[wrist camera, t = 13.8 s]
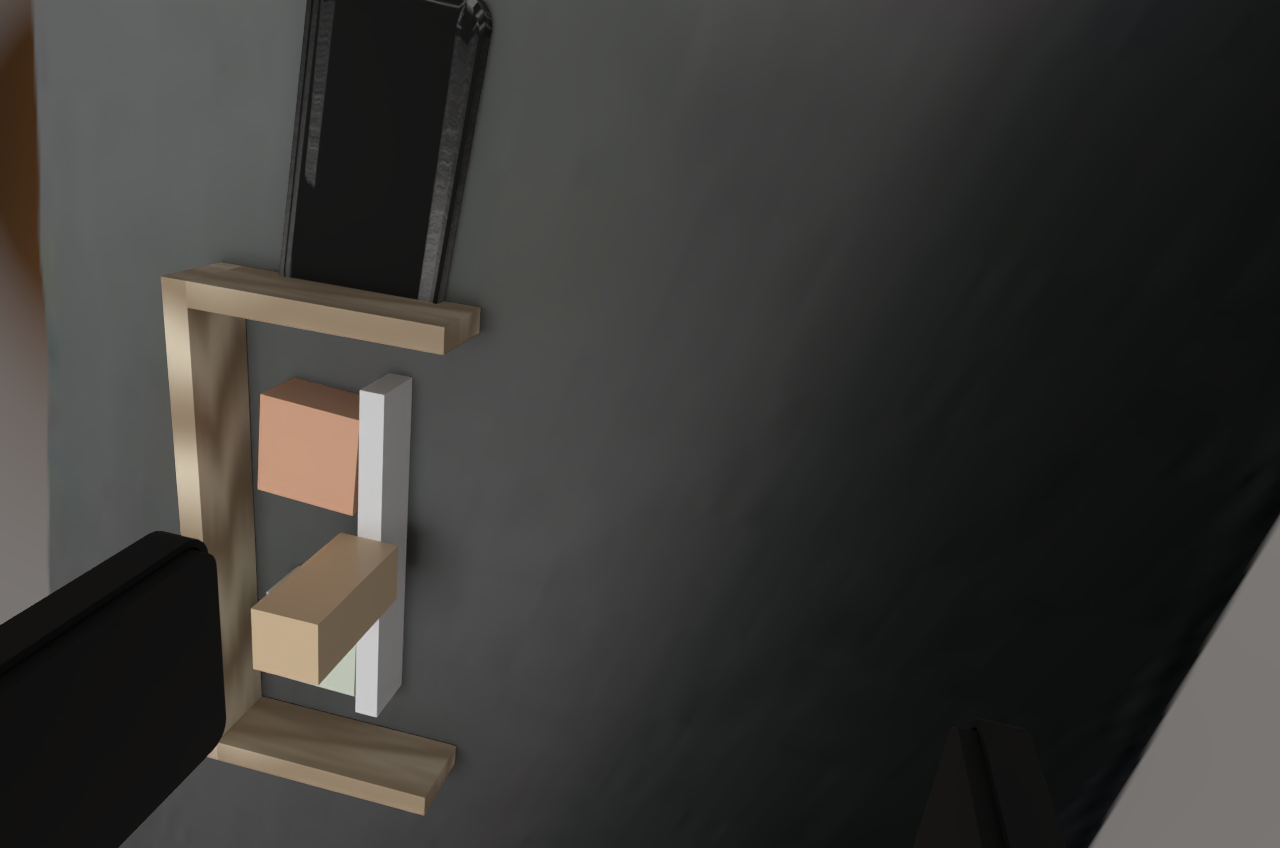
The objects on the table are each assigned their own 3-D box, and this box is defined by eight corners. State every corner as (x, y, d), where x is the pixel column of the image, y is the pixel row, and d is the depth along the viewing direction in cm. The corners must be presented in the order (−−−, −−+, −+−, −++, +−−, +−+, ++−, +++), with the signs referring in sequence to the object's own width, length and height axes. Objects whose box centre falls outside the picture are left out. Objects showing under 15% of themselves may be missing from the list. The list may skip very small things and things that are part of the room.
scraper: (373, 368, 42) (244, 439, 33) (431, 379, 42) (317, 455, 32) (367, 674, 48) (258, 805, 39) (417, 686, 48) (319, 822, 39)
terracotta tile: (297, 376, 43) (260, 394, 40) (390, 400, 42) (359, 420, 40) (292, 465, 45) (257, 489, 42) (382, 490, 44) (352, 515, 42)
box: (220, 262, 42) (160, 276, 38) (480, 307, 40) (444, 327, 36) (243, 708, 51) (198, 754, 47) (454, 762, 49) (424, 815, 45)
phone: (490, -2, 34) (428, 348, 40) (500, 2, 35) (438, 343, 41) (309, -53, 35) (273, 298, 41) (324, -48, 36) (287, 293, 42)
